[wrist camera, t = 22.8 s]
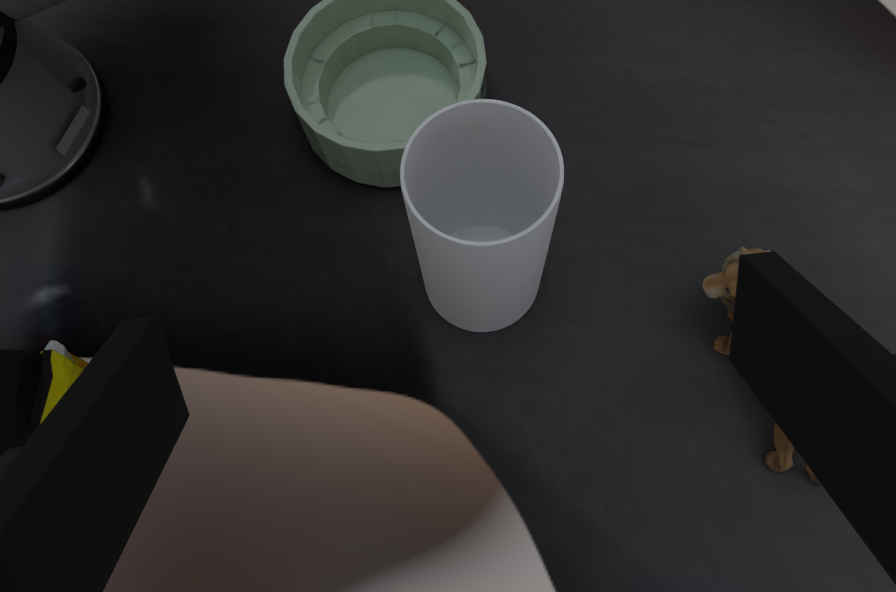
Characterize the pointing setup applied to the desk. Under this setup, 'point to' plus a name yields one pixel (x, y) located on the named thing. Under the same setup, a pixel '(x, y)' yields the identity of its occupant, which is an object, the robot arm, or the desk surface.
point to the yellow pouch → (32, 389)
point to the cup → (482, 209)
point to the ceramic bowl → (379, 78)
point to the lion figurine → (726, 290)
